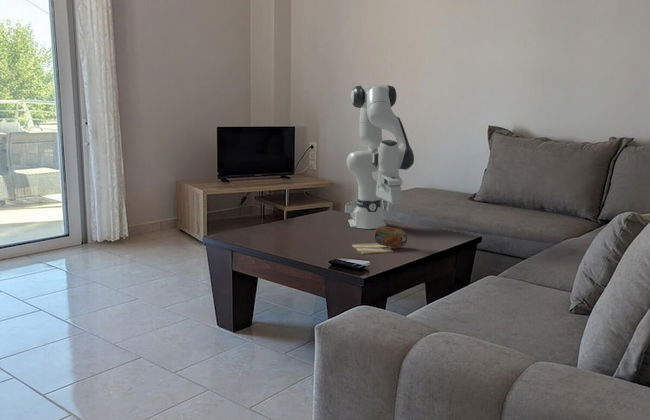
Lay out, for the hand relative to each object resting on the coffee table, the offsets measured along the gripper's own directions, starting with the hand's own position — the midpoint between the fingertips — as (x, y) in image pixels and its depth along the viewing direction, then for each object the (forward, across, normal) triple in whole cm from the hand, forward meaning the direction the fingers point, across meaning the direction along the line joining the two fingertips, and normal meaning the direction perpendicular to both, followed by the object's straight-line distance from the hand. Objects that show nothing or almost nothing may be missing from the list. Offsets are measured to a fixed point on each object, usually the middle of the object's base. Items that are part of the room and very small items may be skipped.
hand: (387, 210), depth 255 cm
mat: (+17, -1, -6) cm, 18 cm away
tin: (+16, 0, +1) cm, 16 cm away
